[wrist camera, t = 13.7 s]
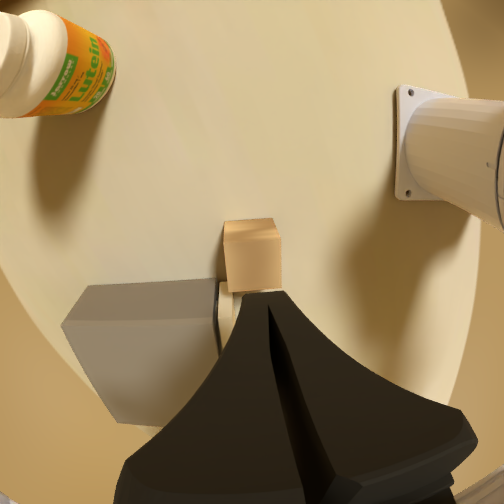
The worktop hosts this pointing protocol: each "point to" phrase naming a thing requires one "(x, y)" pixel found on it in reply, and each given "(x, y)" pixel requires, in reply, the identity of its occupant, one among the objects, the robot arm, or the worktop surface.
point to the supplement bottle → (51, 66)
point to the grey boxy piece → (145, 345)
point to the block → (252, 255)
